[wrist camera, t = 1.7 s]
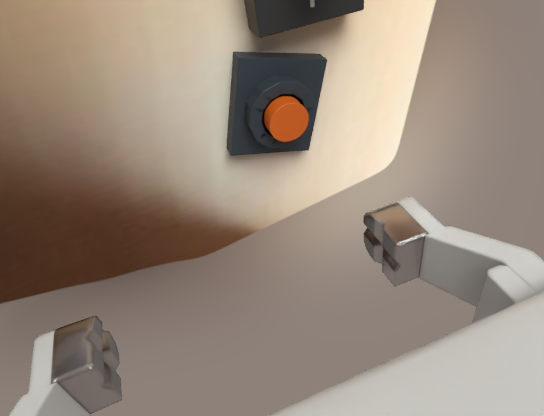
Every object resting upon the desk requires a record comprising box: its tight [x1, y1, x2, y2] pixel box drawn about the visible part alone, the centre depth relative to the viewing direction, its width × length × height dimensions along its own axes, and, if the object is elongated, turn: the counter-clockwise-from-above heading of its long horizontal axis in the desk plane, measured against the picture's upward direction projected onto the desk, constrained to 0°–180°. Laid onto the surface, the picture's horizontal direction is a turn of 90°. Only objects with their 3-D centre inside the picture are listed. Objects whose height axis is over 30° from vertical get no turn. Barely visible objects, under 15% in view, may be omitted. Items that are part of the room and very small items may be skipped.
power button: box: [264, 96, 309, 142], centre depth 39 cm, size 4×4×2 cm
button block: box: [227, 52, 327, 155], centre depth 41 cm, size 10×9×4 cm
